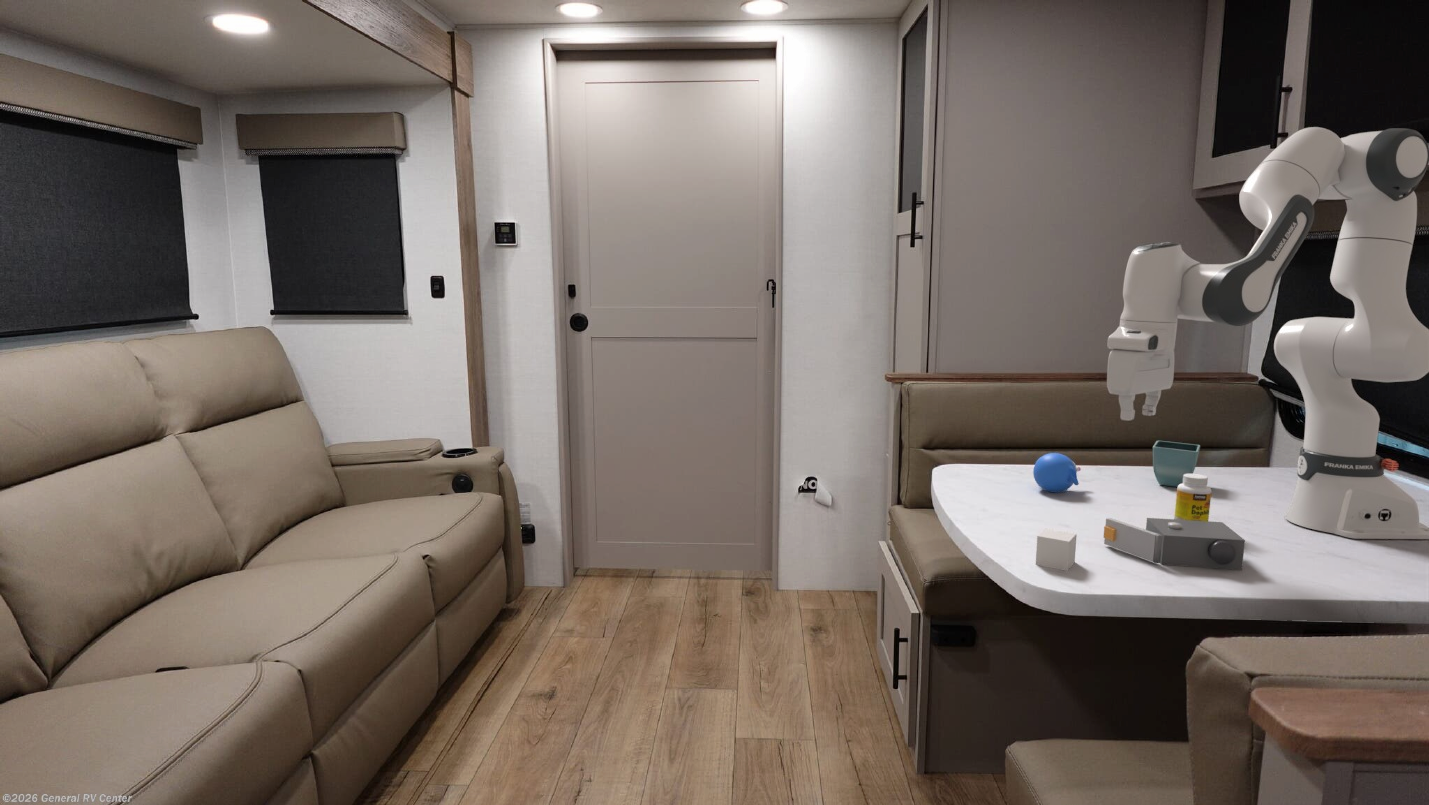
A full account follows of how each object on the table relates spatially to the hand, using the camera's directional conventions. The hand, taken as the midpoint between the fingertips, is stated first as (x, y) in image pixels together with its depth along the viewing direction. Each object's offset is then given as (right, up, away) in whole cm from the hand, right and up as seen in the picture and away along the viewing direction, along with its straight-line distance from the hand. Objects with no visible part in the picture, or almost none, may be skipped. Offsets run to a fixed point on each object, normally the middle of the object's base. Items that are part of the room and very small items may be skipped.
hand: (1138, 417), depth 150 cm
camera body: (+7, -23, -4) cm, 25 cm away
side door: (-3, -23, -4) cm, 23 cm away
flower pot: (+29, -16, +43) cm, 55 cm away
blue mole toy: (+1, -17, +38) cm, 42 cm away
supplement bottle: (+15, -21, +11) cm, 28 cm away
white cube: (-17, -24, -8) cm, 31 cm away
